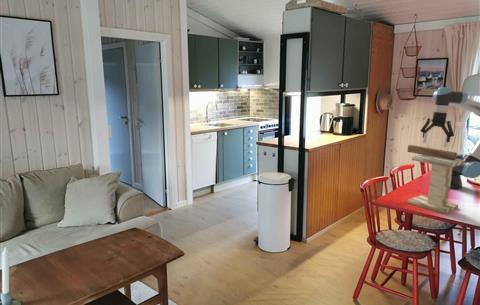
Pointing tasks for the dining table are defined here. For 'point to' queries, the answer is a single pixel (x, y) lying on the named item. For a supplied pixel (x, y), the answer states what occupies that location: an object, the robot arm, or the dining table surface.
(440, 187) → the shelf stand
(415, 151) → the brown block
